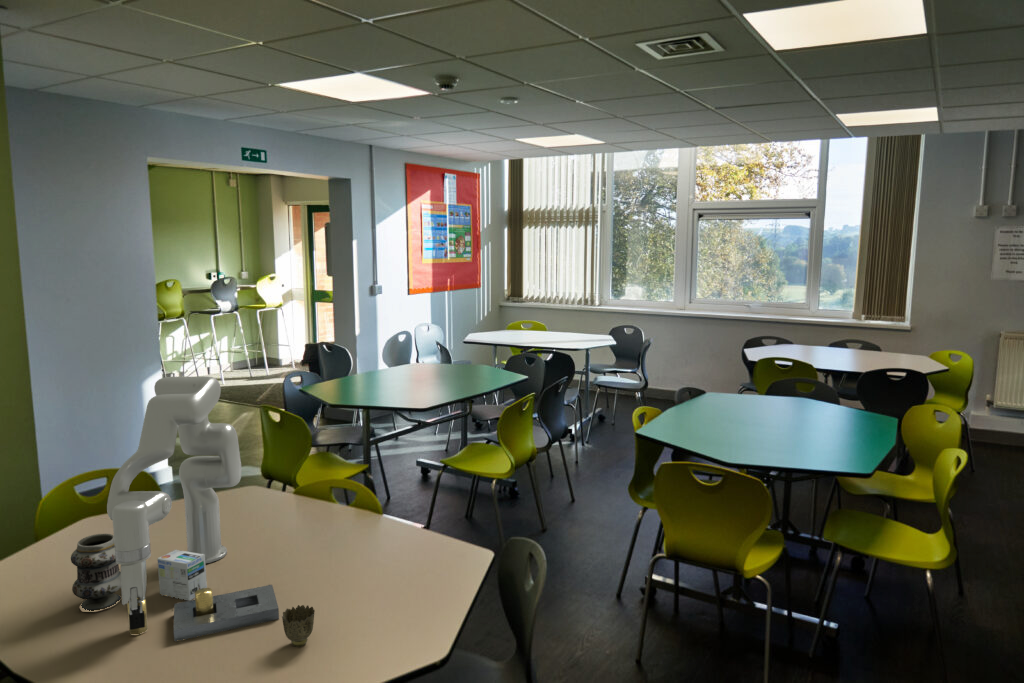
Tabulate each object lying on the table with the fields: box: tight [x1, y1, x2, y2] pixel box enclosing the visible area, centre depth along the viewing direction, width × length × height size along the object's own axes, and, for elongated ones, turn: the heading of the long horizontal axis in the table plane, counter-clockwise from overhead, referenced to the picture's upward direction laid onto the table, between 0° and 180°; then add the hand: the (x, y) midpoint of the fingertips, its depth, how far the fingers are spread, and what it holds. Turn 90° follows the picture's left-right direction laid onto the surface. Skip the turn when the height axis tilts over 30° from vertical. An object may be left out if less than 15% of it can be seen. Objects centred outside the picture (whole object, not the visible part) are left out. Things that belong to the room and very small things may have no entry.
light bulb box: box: [156, 549, 208, 601], centre depth 187 cm, size 11×7×11 cm, turn 71°
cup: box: [281, 604, 316, 648], centre depth 162 cm, size 8×7×8 cm
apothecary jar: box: [70, 533, 122, 611], centre depth 181 cm, size 12×12×18 cm
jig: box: [173, 584, 280, 642], centre depth 175 cm, size 14×24×3 cm, turn 116°
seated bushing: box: [194, 587, 214, 617], centre depth 172 cm, size 4×4×8 cm
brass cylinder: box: [126, 597, 149, 634], centre depth 168 cm, size 4×4×8 cm
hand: (138, 622), depth 168 cm, fingers closed on brass cylinder, 4 cm apart
